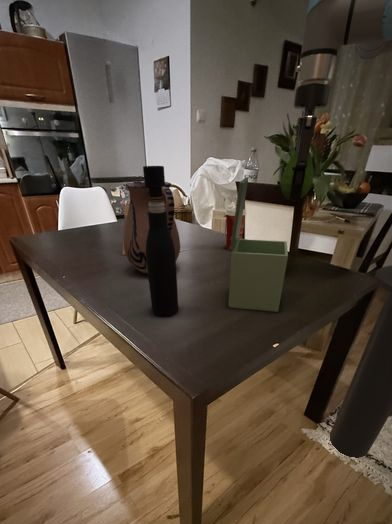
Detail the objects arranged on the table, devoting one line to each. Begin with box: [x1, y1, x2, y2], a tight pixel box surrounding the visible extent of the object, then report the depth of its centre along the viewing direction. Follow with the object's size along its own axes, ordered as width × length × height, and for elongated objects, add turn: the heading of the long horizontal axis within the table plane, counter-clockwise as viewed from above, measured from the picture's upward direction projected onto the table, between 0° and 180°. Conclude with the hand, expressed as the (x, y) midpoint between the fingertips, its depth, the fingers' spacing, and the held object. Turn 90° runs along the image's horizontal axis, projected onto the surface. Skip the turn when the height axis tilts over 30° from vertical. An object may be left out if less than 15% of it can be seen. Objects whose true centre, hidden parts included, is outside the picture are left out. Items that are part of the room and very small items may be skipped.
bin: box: [227, 238, 289, 313], centre depth 70 cm, size 12×12×14 cm
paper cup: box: [225, 207, 247, 252], centre depth 108 cm, size 8×8×14 cm
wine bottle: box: [142, 165, 179, 318], centre depth 61 cm, size 6×6×30 cm
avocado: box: [280, 148, 315, 202], centre depth 74 cm, size 8×8×12 cm
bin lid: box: [229, 177, 249, 251], centre depth 63 cm, size 13×12×1 cm
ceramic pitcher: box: [123, 180, 181, 274], centre depth 85 cm, size 18×21×25 cm
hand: (294, 197), depth 77 cm, fingers closed on avocado, 8 cm apart
